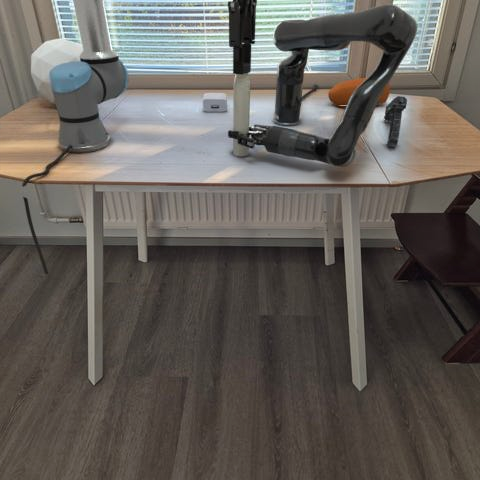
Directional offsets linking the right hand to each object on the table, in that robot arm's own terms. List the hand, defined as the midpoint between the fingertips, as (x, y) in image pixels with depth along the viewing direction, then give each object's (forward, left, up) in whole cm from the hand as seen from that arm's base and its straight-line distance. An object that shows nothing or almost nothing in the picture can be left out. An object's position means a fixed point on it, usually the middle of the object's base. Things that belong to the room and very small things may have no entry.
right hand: (233, 130), depth 122 cm
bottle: (0, +3, -7) cm, 7 cm away
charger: (-37, -30, -7) cm, 48 cm away
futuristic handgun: (-41, +38, -7) cm, 57 cm away
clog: (-69, +19, -7) cm, 72 cm away
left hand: (0, +3, +17) cm, 17 cm away
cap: (0, +3, +19) cm, 19 cm away
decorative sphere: (-8, -80, -7) cm, 81 cm away
